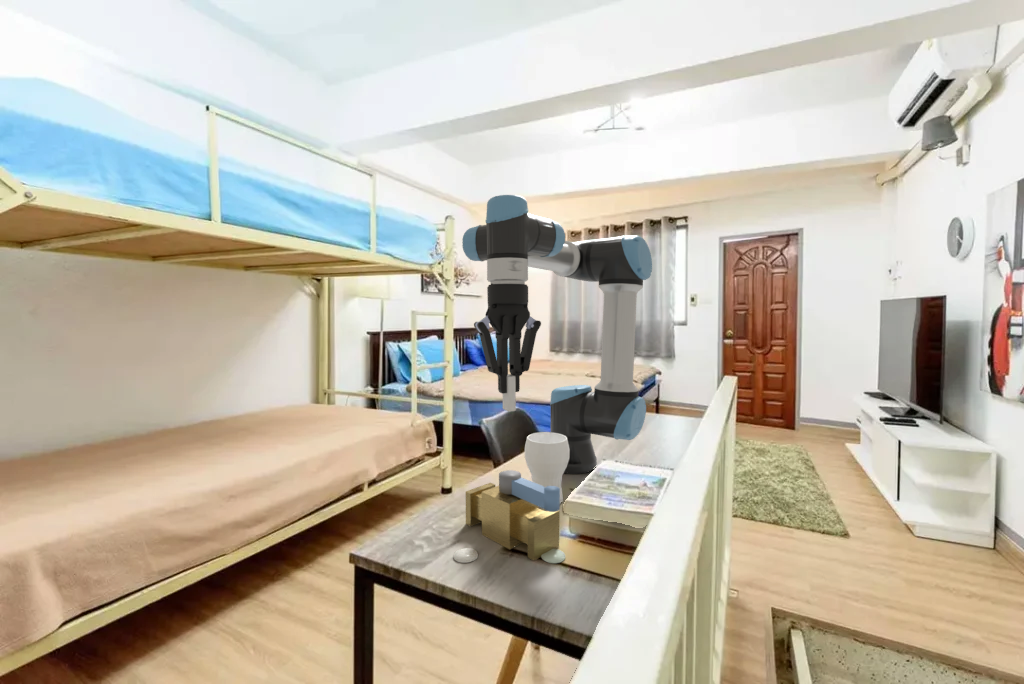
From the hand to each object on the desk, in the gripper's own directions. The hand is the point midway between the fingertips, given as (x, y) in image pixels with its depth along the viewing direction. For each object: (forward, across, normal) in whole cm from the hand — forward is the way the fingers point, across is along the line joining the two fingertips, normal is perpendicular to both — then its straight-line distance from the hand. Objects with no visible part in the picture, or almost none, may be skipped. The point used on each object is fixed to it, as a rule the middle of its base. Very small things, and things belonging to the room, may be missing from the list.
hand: (509, 409), depth 84 cm
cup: (+27, +16, +15) cm, 35 cm away
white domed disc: (+26, -9, -1) cm, 28 cm away
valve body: (+26, +1, +3) cm, 27 cm away
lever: (+17, +3, -2) cm, 17 cm away
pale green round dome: (+26, +5, -7) cm, 28 cm away
